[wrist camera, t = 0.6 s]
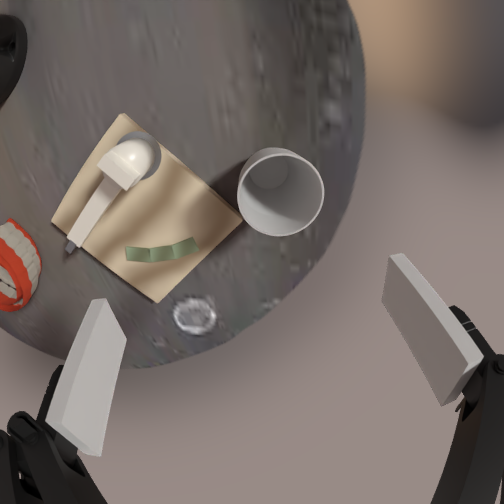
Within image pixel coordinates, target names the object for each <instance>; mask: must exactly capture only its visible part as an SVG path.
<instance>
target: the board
mask: <svg viewBox="0 0 504 504" xmlns="http://www.w3.org/2000/svg"><path fill="white" fill-rule="evenodd" d="M131 138H142V139H145V140H146V141H148V142H149V143H150V144H151V145H152V147H153V149H154V152H155V161H154V164H153V166H152V168H151V169H150V170H149V171H148V172H147V173H146V174H145V175H144V176H143V177H142V178H141V179H140V180H139V181H138V183H137V184H135V185H134V186H133V187H130V188H129V189H128V190H127V191H126V190H125V189H121V191H120V192H119V193H118V195H117V196H116V197H115V199H114V200H113V202H112V203H111V204H110V206H109V207H108V209H107V210H106V211H105V213H104V214H103V216H102V217H101V219H100V220H99V221H98V223H97V224H96V226H95V227H94V229H93V230H92V232H91V233H90V235H89V236H88V238H87V239H86V240H85V242H84V243H83V244H82V245H81V247H83V248H84V249H85V250H86V251H88V252H89V253H90V254H91V255H93V256H94V257H95V258H97V259H98V260H99V261H100V262H102V263H103V264H104V265H106V266H107V267H108V268H109V269H111V270H112V271H113V272H115V273H116V274H117V275H119V276H120V277H121V278H123V279H124V280H126V281H127V282H128V283H130V284H131V285H132V286H134V287H135V288H136V289H138V290H139V291H141V292H142V293H143V294H145V295H146V296H148V297H149V298H151V299H152V300H153V301H155V302H156V303H159V302H160V301H161V300H162V299H163V298H164V297H165V296H166V295H167V294H168V293H169V292H170V291H171V290H172V289H173V288H174V287H175V286H176V285H177V284H178V283H179V282H180V281H181V280H182V279H183V278H184V277H185V276H186V275H187V274H188V273H189V272H190V271H191V270H192V269H193V268H194V267H195V266H196V265H197V264H198V263H199V262H200V261H201V260H202V259H203V258H204V257H206V256H207V255H208V254H209V253H210V252H211V251H212V250H213V249H214V248H215V247H216V246H217V245H218V244H219V243H220V242H221V241H222V240H223V239H224V238H225V237H226V236H227V235H228V234H229V233H231V232H232V231H233V230H234V229H235V228H236V227H237V226H238V225H239V224H240V223H241V222H242V221H243V217H242V215H241V214H240V213H239V212H238V211H237V210H235V209H234V208H233V207H232V206H231V205H230V204H229V203H228V202H226V201H225V200H224V199H223V198H222V197H221V196H220V195H218V194H217V193H216V192H215V191H214V190H213V189H212V188H211V187H209V186H208V185H207V184H206V183H205V182H204V181H203V180H201V179H200V178H199V177H198V176H197V175H196V174H195V173H193V172H192V171H191V170H190V169H189V168H188V167H186V166H185V165H184V164H183V163H182V162H181V161H180V160H178V159H177V158H176V157H175V156H174V155H173V154H171V153H170V152H169V151H168V150H167V149H166V148H165V147H163V146H162V145H161V144H160V143H159V142H158V141H156V139H155V138H154V137H153V136H151V135H150V134H148V133H147V132H146V131H145V130H143V129H142V128H141V127H140V126H139V125H138V124H136V123H135V122H134V121H133V120H132V119H130V118H129V117H128V116H127V115H126V114H125V113H123V114H120V115H119V116H118V117H117V119H116V120H115V121H114V123H113V124H112V125H111V127H110V128H109V129H108V131H107V132H106V133H105V135H104V136H103V137H102V139H101V140H100V142H99V143H98V145H97V146H96V147H95V149H94V150H93V152H92V153H91V155H90V156H89V158H88V159H87V161H86V162H85V164H84V165H83V167H82V169H81V170H80V172H79V173H78V175H77V176H76V178H75V180H74V181H73V183H72V185H71V186H70V188H69V190H68V191H67V193H66V195H65V197H64V198H63V200H62V202H61V204H60V205H59V207H58V209H57V211H56V213H55V215H54V217H53V218H52V220H51V221H52V222H53V223H54V224H55V225H56V226H57V227H59V228H60V229H61V230H62V231H63V232H64V233H66V234H67V235H68V234H69V232H70V230H71V229H72V227H73V225H74V224H75V222H76V220H77V219H78V217H79V216H80V214H81V212H82V211H83V209H84V208H85V206H86V204H87V203H88V201H89V200H90V198H91V197H92V195H93V194H94V192H95V191H96V189H97V188H98V186H99V185H100V183H101V182H102V181H103V179H104V176H103V173H102V170H101V169H100V168H99V167H98V166H97V164H98V163H99V161H100V160H101V158H102V157H103V156H104V154H106V153H107V152H108V151H109V150H110V149H111V148H113V147H115V146H117V145H119V144H121V143H123V142H125V141H127V140H129V139H131Z"/></svg>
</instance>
